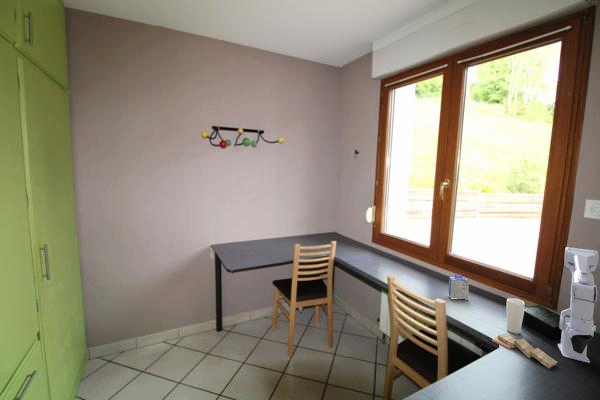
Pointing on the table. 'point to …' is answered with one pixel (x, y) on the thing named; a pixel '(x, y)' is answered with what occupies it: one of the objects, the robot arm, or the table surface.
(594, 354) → the table surface
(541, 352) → the domino
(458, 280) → the ink cartridge box
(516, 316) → the drinking glass
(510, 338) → the domino
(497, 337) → the salmon orange block
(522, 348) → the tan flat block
